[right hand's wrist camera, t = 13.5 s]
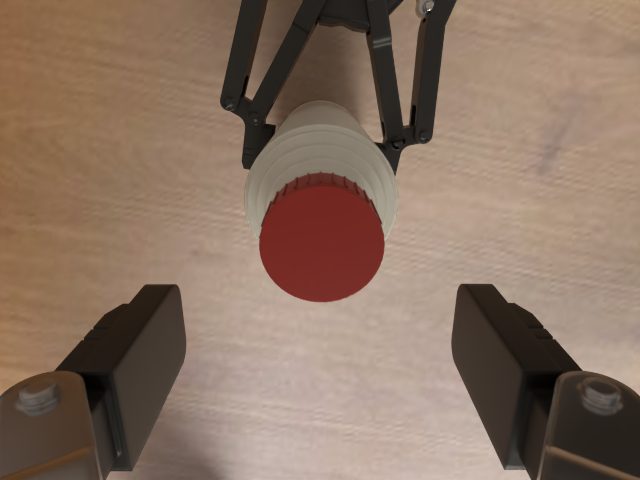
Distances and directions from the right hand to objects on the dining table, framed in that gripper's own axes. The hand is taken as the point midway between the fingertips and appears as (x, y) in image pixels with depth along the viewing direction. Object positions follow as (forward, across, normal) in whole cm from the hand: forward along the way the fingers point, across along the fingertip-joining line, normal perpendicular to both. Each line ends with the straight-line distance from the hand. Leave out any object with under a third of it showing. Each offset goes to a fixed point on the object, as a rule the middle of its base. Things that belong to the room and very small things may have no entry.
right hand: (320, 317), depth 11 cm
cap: (+5, 0, 0) cm, 5 cm away
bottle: (+29, 0, 0) cm, 29 cm away
